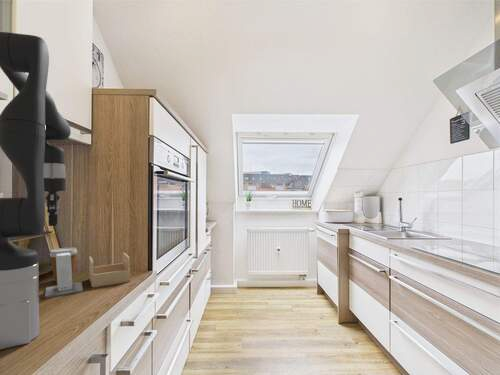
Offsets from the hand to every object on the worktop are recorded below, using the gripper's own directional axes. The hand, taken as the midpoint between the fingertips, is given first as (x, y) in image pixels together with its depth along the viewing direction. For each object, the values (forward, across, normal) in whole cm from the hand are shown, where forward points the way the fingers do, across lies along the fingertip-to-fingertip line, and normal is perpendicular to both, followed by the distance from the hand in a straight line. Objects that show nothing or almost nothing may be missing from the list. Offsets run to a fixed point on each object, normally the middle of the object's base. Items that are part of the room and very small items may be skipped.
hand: (53, 224), depth 103 cm
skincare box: (+23, -2, +3) cm, 23 cm away
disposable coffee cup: (+23, -17, +3) cm, 29 cm away
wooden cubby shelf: (+23, -6, +18) cm, 30 cm away
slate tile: (+23, -2, +3) cm, 24 cm away
